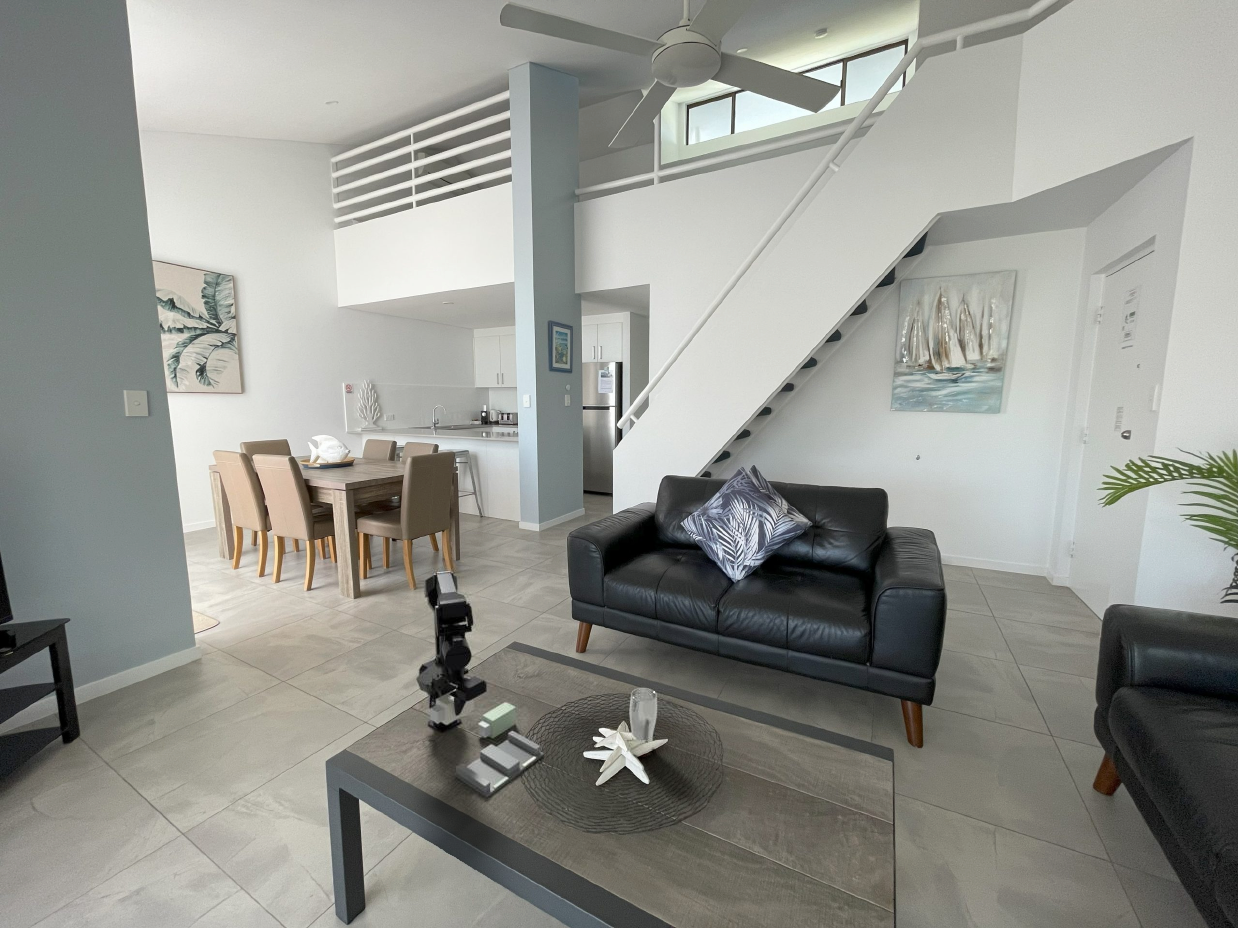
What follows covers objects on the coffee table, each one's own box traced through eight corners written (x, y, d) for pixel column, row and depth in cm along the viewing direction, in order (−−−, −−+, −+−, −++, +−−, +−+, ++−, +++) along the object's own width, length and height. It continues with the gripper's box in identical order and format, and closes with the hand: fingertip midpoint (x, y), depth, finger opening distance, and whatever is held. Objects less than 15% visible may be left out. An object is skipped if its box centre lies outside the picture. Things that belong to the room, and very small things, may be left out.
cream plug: (463, 703, 132) (463, 685, 131) (473, 709, 130) (473, 690, 129) (428, 722, 124) (428, 702, 123) (439, 728, 121) (439, 708, 121)
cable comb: (455, 776, 122) (455, 767, 121) (512, 737, 136) (513, 729, 136) (486, 797, 115) (487, 788, 115) (543, 755, 130) (543, 746, 130)
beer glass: (653, 760, 129) (655, 703, 128) (625, 756, 131) (627, 699, 129) (656, 743, 136) (659, 689, 135) (630, 739, 137) (632, 685, 136)
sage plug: (505, 718, 145) (505, 701, 144) (515, 724, 142) (515, 706, 142) (476, 736, 136) (476, 718, 136) (486, 742, 134) (486, 724, 134)
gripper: (398, 650, 124) (399, 712, 125) (448, 676, 113) (448, 743, 115) (439, 635, 133) (439, 693, 134) (488, 657, 122) (488, 719, 124)
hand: (452, 711), depth 127 cm, fingers closed on cream plug, 4 cm apart
